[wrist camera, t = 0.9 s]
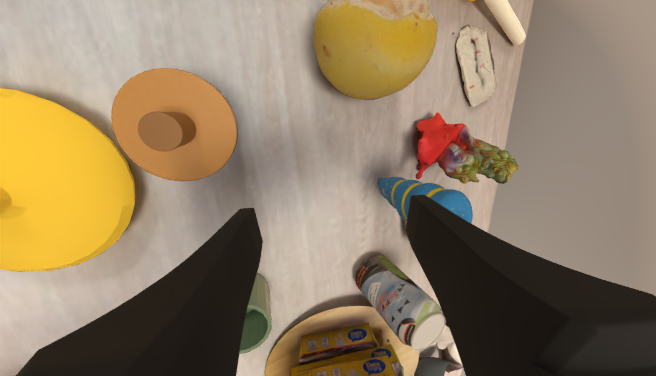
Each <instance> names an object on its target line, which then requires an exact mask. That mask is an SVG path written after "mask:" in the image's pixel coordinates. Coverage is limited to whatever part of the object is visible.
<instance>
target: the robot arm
mask: <svg viewBox="0 0 656 376" xmlns="http://www.w3.org/2000/svg"><path fill="white" fill-rule="evenodd" d="M406 232H407V235H408V238H409V241H410V244H411V247H412V249H413V251H414V253H415V255H416V257H417V259H418V261H419V263H420V265H421V267H422V269H423V271H424V273H425V275H426V277H427V279H428V281H429V282H430V284H431V286H432V288H433V290H434V292H435V294H436V297H437V299H438V301H439V303H440V306H441V308H442V311H443V313H444V316H445V318H446V321H447V323H448V326H449V329H450V332H451V334H452V337H453V340H454V342H455V345H456V348H457V351H458V354H459V356H460V359H461V362H462V365H463V368H464V371H465V374H466V376H656V297H655V296H654V295H652V294H649V293H646V292H643V291H639V290H636V289H633V288H629V287H626V286H622V285H619V284H616V283H612V282H609V281H606V280H602V279H599V278H596V277H593V276H590V275H587V274H584V273H581V272H578V271H575V270H573V269H570V268H567V267H564V266H562V265H559V264H556V263H553V262H551V261H548V260H546V259H543V258H541V257H539V256H536V255H533V254H531V253H529V252H526V251H524V250H522V249H520V248H517V247H515V246H513V245H511V244H509V243H507V242H505V241H503V240H501V239H498V238H497V237H494V236H492V235H491V234H489V233H487V232H485V231H483V230H482V229H480V228H478V227H476V226H474V225H473V224H471V223H469V222H468V221H466V220H464V219H463V218H461V217H459V216H458V215H456V214H454V213H453V212H451V211H450V210H448V209H447V208H445V207H443V206H442V205H440V204H439V203H437V202H436V201H434V200H432V199H431V198H429V197H427V196H426V195H411V197H410V204H409V210H408V217H407V223H406ZM262 242H263V241H262V237H261V233H260V229H259V226H258V222H257V218H256V214H255V210H254V208H244V209H240V210H238V211H237V212H236V213H235V214H234V215H233V216H232V217H231V218H230V219H229V220H228V221H227V222H226V223H225V224H224V225H223V226H222V227H221V228H220V229H219V230H218V231H217V232H216V233H215V234H214V235H213V236H212V237H211V238H210V239H209V240H208V241H207V242H206V243H204V244H203V245H202V246H201V247H200V248H199V249H198V250H197V251H195V252H194V253H193V254H192V255H191V256H190V257H189V258H187V259H186V260H185V261H184V262H182V263H181V264H180V265H179V266H177V267H176V268H175V269H173V270H172V271H171V272H169V273H168V274H167V275H165V276H164V277H163V278H161V279H160V280H158V281H157V282H155V283H154V284H152V285H151V286H149V287H148V288H146V289H145V290H143V291H142V292H140V293H139V294H138V295H136V296H134V297H133V298H131V299H130V300H128V301H126V302H125V303H123V304H122V305H120V306H118V307H117V308H115V309H113V310H112V311H110V312H108V313H106V314H105V315H103V316H101V317H100V318H98V319H96V320H94V321H92V322H91V323H89V324H87V325H85V326H83V327H81V328H80V329H78V330H76V331H74V332H72V333H70V334H68V335H66V336H64V337H63V338H61V339H59V340H57V341H55V342H53V343H51V344H49V345H47V346H45V347H43V348H41V349H39V350H38V351H37V352H36V353H35V354H34V356H33V357H32V358H31V359H30V360H29V361H28V362H27V363H26V365H25V366H24V367H23V368H22V369H21V370H20V371H19V373H18V374H17V375H16V376H236V372H237V365H238V358H239V352H240V345H241V339H242V333H243V327H244V321H245V316H246V312H247V307H248V304H249V300H250V296H251V293H252V289H253V285H254V282H255V278H256V274H257V271H258V267H259V263H260V258H261V250H262Z"/></svg>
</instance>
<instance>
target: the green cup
mask: <svg viewBox="0 0 656 376" xmlns="http://www.w3.org/2000/svg"><path fill="white" fill-rule="evenodd" d="M271 328H272V325H271V309H270V296H269V286H268V283H267V281H266V280H265V278H264V277H263V276H261V275H260V274H258V273H257V274H256V278H255V282H254V285H253V289H252V293H251V296H250V300H249V304H248V307H247V312H246V316H245V321H244V327H243V333H242V339H241V345H240V352H239V354H242V353H247V352H249V351H251V350H253V349H255V348H257V347H259V346H260V345H261V344H262V343H263V342H264V341H265V340H266V339H267V338H268V335H269V333H270V331H271Z"/></svg>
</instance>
